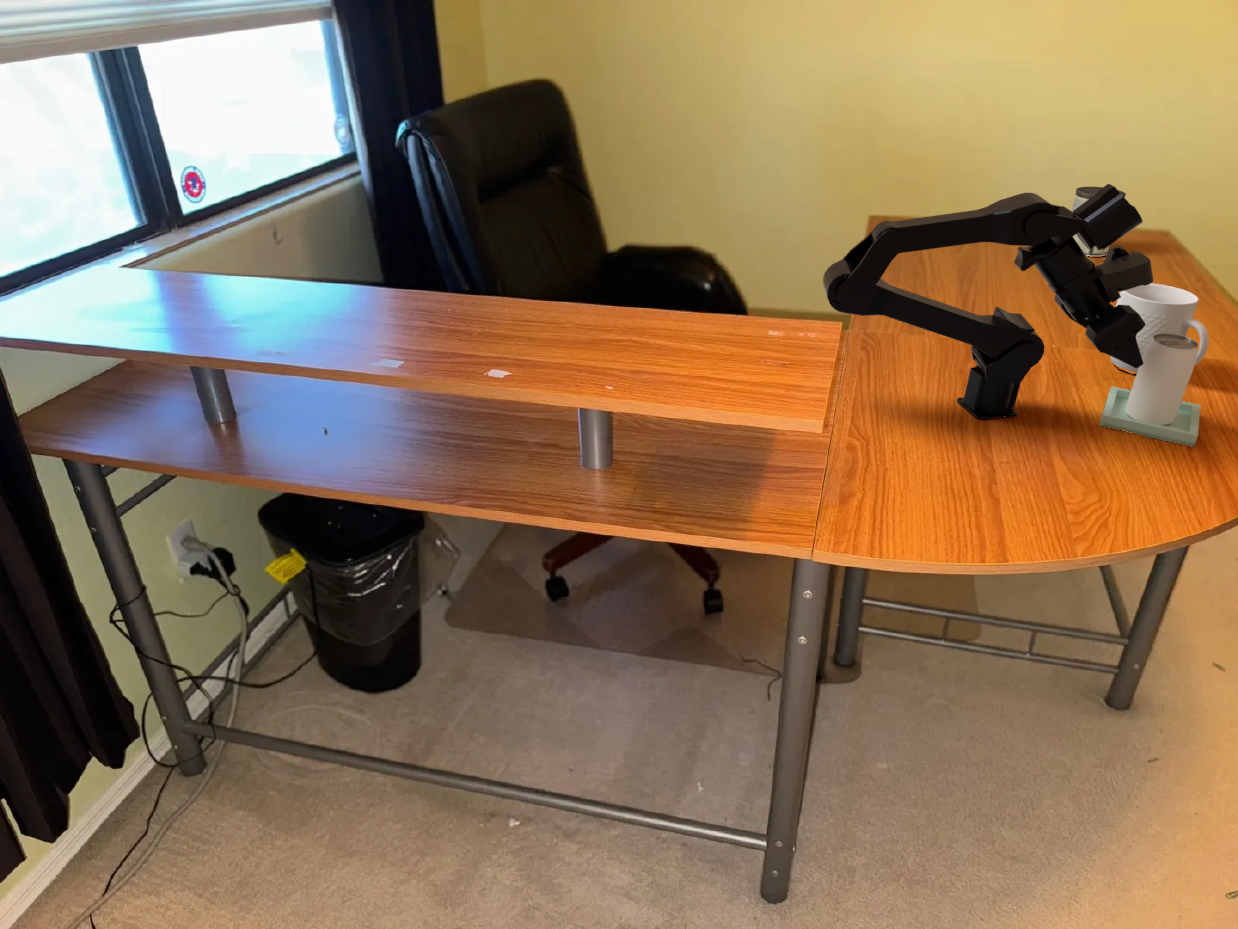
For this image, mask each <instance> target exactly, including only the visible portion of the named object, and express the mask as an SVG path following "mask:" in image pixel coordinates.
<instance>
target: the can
mask: <svg viewBox="0 0 1238 929" xmlns="http://www.w3.org/2000/svg"><path fill="white" fill-rule="evenodd" d="M1197 347H1198V348H1199V343H1198V342H1197V341H1196V340H1194V339H1193V338H1190V337H1188V336H1181V335H1176V334H1168V333H1160V334H1155V335H1154V336H1153V339H1152V340H1151V341H1150V342H1149V343H1148V345H1147V346H1146V349H1145V351H1144V354H1143V357H1142V360H1143V365H1142V366H1140V367H1139V369H1138V372H1137V375H1135V378H1134V381H1133V383H1132V386H1131V389H1130V390H1131V393H1130V396H1129V399H1128V402H1127V405H1126V408H1125V412H1126V414H1127V415H1128V416H1129V417H1130V418H1131V419H1136V420H1140V421H1144V422H1149V423H1153V424H1158V425H1162V426H1166V425H1169V424H1170V423H1172V422H1174V420H1175V417H1176V415H1177V412H1178V409H1179V407H1180V404H1181V401H1183V399H1184V395H1185V392H1186V389H1187V387H1188V384H1189V382H1190V379H1191V376H1192V373H1193V371H1194V368H1195V366H1196V365H1195V363H1196V360H1197V357H1198V353H1197V352H1198V348H1197Z"/></svg>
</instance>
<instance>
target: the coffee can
mask: <svg viewBox="0 0 1238 929" xmlns="http://www.w3.org/2000/svg"><path fill="white" fill-rule="evenodd" d="M1103 187H1104V186H1080V187H1077V188H1076V189H1075V195H1074V198H1073V202H1072V207H1071V209H1070V211H1072V212H1073V211H1074V210H1075V209H1076V208H1078V207H1079V206H1080V205H1082V204H1083V203H1085V202H1086V201H1087V200H1089V199H1090V198H1091V197H1093V196H1094V195H1095V194H1096V193H1097V192H1098V191H1099V190H1100V189H1102V188H1103ZM1117 190H1118V192H1119V193H1120V194H1121V195H1122V196H1123V197H1124V198H1125V197H1126V195H1127V193H1126V192H1124V191H1122V190H1119V189H1117ZM1125 199H1126V198H1125ZM1073 238H1074V239H1075V240H1076V242H1077V243H1078V245H1079V246H1080V248H1081V249H1082V250H1083V252H1084V253H1085V255H1086V256H1091V257H1092V256H1105V255H1107V254H1108V251H1109V249H1110V248H1111V245H1109V246H1108V247H1106V248H1105V249H1104V250H1098V249H1097V248H1096V247H1095V246H1094V248H1092V249H1091V250H1089V249H1088V248H1087V247H1086V246H1085V245H1084V244H1083V243H1082V242H1081V240H1080V239H1079V238H1078V236H1077V235H1076V234H1075V235H1074V236H1073Z"/></svg>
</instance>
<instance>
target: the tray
mask: <svg viewBox="0 0 1238 929" xmlns="http://www.w3.org/2000/svg"><path fill="white" fill-rule="evenodd" d="M1131 390H1132V389H1126V388H1122V387H1116V386H1112V385H1111V386H1110V389H1109V391H1108V395H1107V399H1106V402H1105V404H1104V407H1105V408H1103V411H1102V414H1101V417H1100V421H1099V425H1101V426H1104V427H1103V428H1106V427H1110V428H1114V429H1119V430H1125V431H1128V432H1132V433H1135V434H1134V435H1136V434H1140V435H1143V436H1142V437H1145V436H1147V437H1146V438H1149V437H1151V438H1150V439H1153V438H1155V440H1158V439H1159V441H1162V442H1166V441H1168V442H1167V443H1171V442H1176V443H1180V444H1184V445H1188V446H1192V447H1193V448H1194V447H1195V444H1196V442H1197V439H1198V436H1199V428H1200V426H1199V425H1200V414H1201V404H1199V403H1193V402H1188V401H1183V400H1182V401H1181V404H1180V407H1179V409H1178V412H1177V415H1176V417H1175V420H1174V422H1172V423H1170V424H1169V425H1166V426H1162V425H1158V424H1153V423H1149V422H1144V421H1140V420H1136V419H1131V418H1130V417H1129V416H1128V415H1127V414H1126V412H1125V408H1126V405H1127V402H1128V399H1129V396H1130V393H1131ZM1099 425H1098V426H1099ZM1101 426H1100V427H1101ZM1110 428H1109V429H1110ZM1114 429H1113V430H1114ZM1119 430H1118V431H1119ZM1132 433H1131V434H1132ZM1140 435H1139V436H1140ZM1184 445H1183V446H1184ZM1188 446H1187V447H1188ZM1192 447H1191V448H1192Z"/></svg>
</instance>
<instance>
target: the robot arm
mask: <svg viewBox="0 0 1238 929" xmlns="http://www.w3.org/2000/svg"><path fill="white" fill-rule="evenodd" d="M1102 187H1103V188H1102V189H1100V190H1099V191H1098V192H1097V193H1096V194H1095V195H1094V196H1093V197H1091V198H1090V199H1089V200H1087V201H1086V202H1085V203H1083V204H1082V205H1080V206H1079V207H1078V208H1076V209H1075V210H1074V211H1073V212H1072V211H1071V209H1069V208H1068V207H1066V206H1064V205H1057V204H1056V205H1055V204H1052V203H1050V202H1049V201H1047V200H1046V199H1045V198H1043V197H1041V196H1040V195H1039V194H1037V193H1034V192H1022V193H1019V194H1015V195H1012V196H1009V197H1006V198H1003V199H999V200H997V201H995V202H993V203H992V204H989V205H988V206H984V207H982V208H978V209H975V210H973V209H972V210H967V211H965V210H964V211H959V212H951V213H943V214H937V215H931V216H925V217H924V216H923V217H918V218H917V217H916V218H909V219H908V218H907V219H902V220H901V219H900V220H893V221H892V220H884V221H880V222H879V223H878V224H876V225H875V227H873V229H872V230H871V231H869V234H867V236H866V237H864V238H863V239H861V241H860V242H858V243H857V244H856V245H855V246H852V248H851V249H850V250H849V251H848V252H847V253H846V254H845V256H844V257H842V259H841V260H839V261H836V262H834V263H832V264H831V265H829V266H828V268H826V270H825V272H824V273H823V278H822V285H823V286H822V287H823V289H824V293H825V295H826V297H827V301H828V302H829V305H830V307H831V308H832V309H834V310H835V311H836V312H838V313H842V314H848V315H853V316H854V315H856V316H861V317H870V316H871V317H873V316H884V317H887V318H890V319H893V320H895V321H899V322H902V323H905V324H908V325H911V326H914V327H916V328H919V329H923V330H926V331H929V332H932V333H934V334H937V335H941V336H943V337H946V338H949V339H952V340H955V341H958V342H960V343H961V342H962V343H964V344H966V345H971V347H970V351H971V352H970V353H971V356H972V360H973V361H974V362H975V364H976V366H975V367H970V370H969V374H968V380H967V384H966V388H965V392H964V395H963V397H957V398H956V402H957V403H958V404H959V405H961V406H962V407H963V408H964V409H965V410H966V411H967V412H969V413H970V414H971V415H972V416H974V418H976V419H979V420H987V419H988V418H989V419H996V418H995V417H1003V418H1009V417H1008V416H1016V415H1017V416H1018V412H1017V411H1016V410H1015V409H1014V407H1015V406H1016V402H1017V398H1018V395H1019V392H1020V387H1021V383H1022V382H1023V380H1024V379H1025V377H1026V375H1027V374H1028V373H1029V372H1030V370H1031V369H1032V368H1034V367H1035V365H1037V364H1038V363H1039V362H1040V361H1041V360H1042V358H1043V356H1044V354H1045V344H1044V341H1043V339H1042V338H1041V337H1040V336H1039V334H1038V333H1036V329H1034V327H1033V326H1032V325H1031V324H1030V322H1028V321H1027V319H1026V318H1025V317H1024V316H1023V315H1022V314H1021V313H1013V312H1009V311H1006V310H1005V309H1003V308H1001V307H1000V306H996V307H995V308H994V310H993V314H989V315H988V314H987V315H985V314H984V315H982V314H981V315H980V314H977V313H973V312H970V311H968V310H965V309H961V308H959V307H957V306H956V307H955V306H953V305H951V304H947V303H945V302H941V301H938V300H935V299H934V298H933V299H932V298H931V297H930V298H929V297H926V296H923V295H920V294H918V293H915V292H912V291H909V290H906V289H903V288H900V287H897V286H894V285H891V284H890V283H888V282H887V281H885V280H884V279H882V277H883V275H884V273H886V270H887V269H888V267H889V266H890V265H891V263H892V261H893V260H894V259H895V258H896V257H897V256H898V255H899V254H905V253H912V252H920V251H926V250H933V249H934V250H935V249H940V248H941V249H943V248H948V247H956V246H964V245H971V244H978V243H993V244H1001V245H1006V246H1019V247H1017V254H1016V256H1015V259H1014V262H1013V263H1014V265H1015V266H1016V267H1017V268H1018V269H1019V270H1020V271H1021V272H1026V271H1027V270H1028V269H1030V268H1032V266H1035V267H1036V268H1035V269H1037V271H1038V272H1039V273H1040V275H1041V276H1042V277H1043V279H1044V280H1045V281H1046V282H1047V284H1048V287H1049V289H1050V290H1051V291H1052V292H1053V293H1054V301H1055V303H1056V304H1057V305H1058V307H1059V308H1060V309H1061V310H1062V312H1064V314H1065V315H1067V317H1068V318H1069V319H1070V320H1071V321H1073V322H1075V323H1076V324H1078V325H1079V326H1082V327H1083V328H1085V333H1084V334H1085V335H1086V337H1087V339H1088V340H1089V341H1090V342H1091V343H1092V345H1093V346H1094V347H1095V348H1096V349H1097V350H1098V352H1099V353H1102V354H1105V355H1108V356H1112V357H1114V358H1116V359H1118V360H1120V361H1122V362H1124V363H1126V364H1128V365H1130V366H1132V367H1134V368H1138V367H1140V366H1142V365H1143V360H1142V357H1141V354H1140V350H1139V347H1138V344H1137V340H1136V335H1137V333H1138V332H1140V331H1141V330H1142V329H1143V328H1144V326H1145V325H1146V324H1145V322H1144V321H1143V319H1142V318H1141V317H1140V315H1139V314H1138V313H1137V312H1136V311H1135V310H1134V309H1133V308H1132V307H1130V306H1129V305H1118V306H1116V305H1115V307H1114V306H1113V305H1112V304H1111V303H1115V302H1117V300H1118V299H1119V298H1120V297H1121V296H1120V291H1125V290H1128V289H1131V288H1134V287H1138V286H1141V285H1144V286H1145V285H1148V284H1151V283H1153V282H1154V275H1153V269H1152V261H1151V259H1150V258H1149V257H1147V255H1145V254H1144V253H1142V252H1141V251H1140V252H1137V251H1135V250H1132V251H1130V253H1129V252H1128V251H1127V250H1126V248H1124V247H1123V246H1121V245H1116V246H1113V247H1110V248H1109V251H1108V254H1107V256H1106V258H1104V259H1105V260H1103V261H1102V263H1101V264H1098V265H1096V264H1095V262H1093V261H1092V260H1091V259H1090V258H1089V257H1087V256H1086V255H1085V253H1084V252H1083V250H1082V249H1081V248H1080V246H1079V245H1078V243H1077V242H1076V240H1075V239H1074V238H1073V236H1074V235H1075V234H1076V235H1077V236H1078V238H1079V239H1080V240H1081V242H1082V243H1083V244H1084V245H1085V246H1086V247H1087V248H1088V249H1089V250H1091V249H1092V248H1094V246H1095V247H1096V248H1097V249H1098V250H1104V249H1105V248H1106V247H1108V246H1109V245H1110V246H1111V245H1113V244H1114V243H1115V242H1117V241H1119V239H1122V237H1124V236H1125V235H1127V234H1128V233H1129V232H1131V231H1132V230H1134V229H1136V227H1138V226H1140V225H1141V224H1142V223H1143V218H1142V217H1141V214H1140V213H1139V210H1137V208H1136V207H1135V206H1134V205H1133V204H1131V203H1130V202H1129V201H1128V200H1127V199H1126V198H1124V197H1123V196H1122V195H1121V194H1120V193H1119V192H1118V190H1119V189H1117V187H1116V186H1114V185H1112V184H1111V183H1107V184H1106V185H1105V186H1102ZM1023 246H1024V247H1023ZM1004 416H1005V417H1004ZM1017 416H1016V417H1017ZM985 418H986V419H985ZM989 419H988V420H989Z"/></svg>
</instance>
